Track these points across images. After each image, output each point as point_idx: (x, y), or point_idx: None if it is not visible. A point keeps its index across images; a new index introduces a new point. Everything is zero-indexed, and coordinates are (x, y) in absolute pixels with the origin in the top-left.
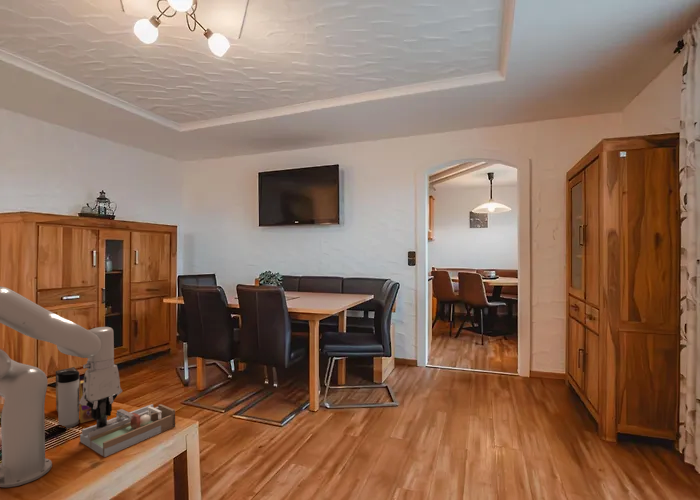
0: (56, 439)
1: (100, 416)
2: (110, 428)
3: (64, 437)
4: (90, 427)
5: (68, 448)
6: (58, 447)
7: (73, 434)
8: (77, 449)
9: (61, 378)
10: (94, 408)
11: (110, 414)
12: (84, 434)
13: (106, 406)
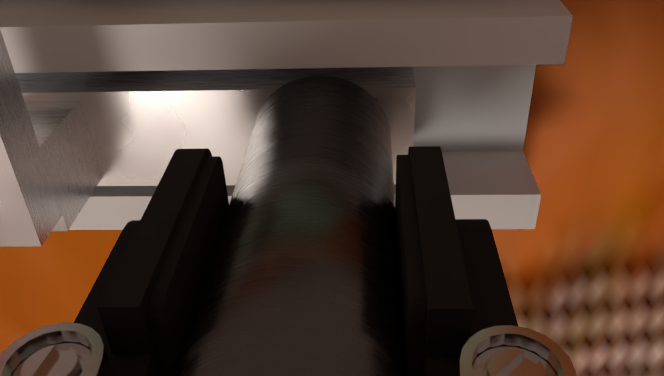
0: None
1: (362, 187)
2: (246, 9)
3: None
4: None
5: (636, 133)
6: (660, 227)
7: None
8: (612, 30)
9: None
10: (522, 352)
11: (179, 156)
12: (512, 162)
13: (205, 313)
